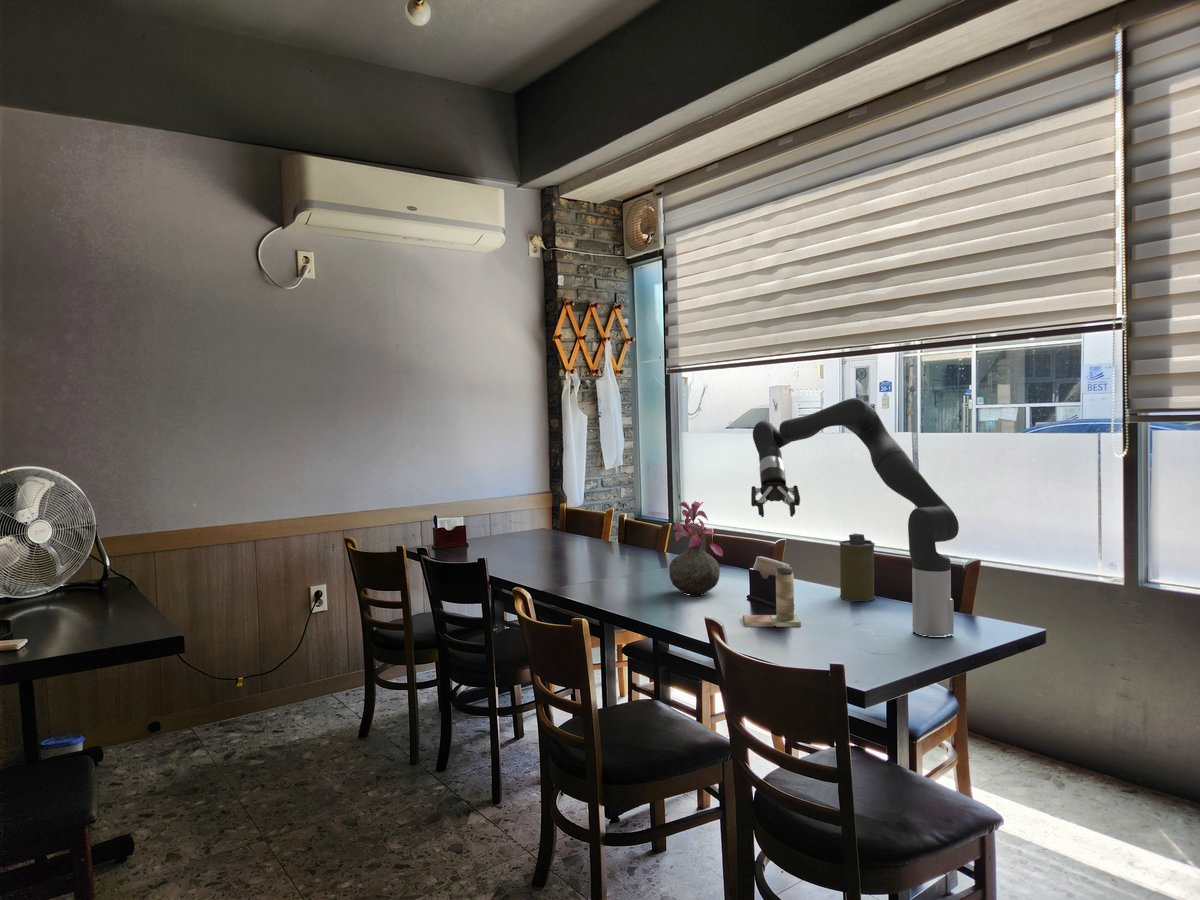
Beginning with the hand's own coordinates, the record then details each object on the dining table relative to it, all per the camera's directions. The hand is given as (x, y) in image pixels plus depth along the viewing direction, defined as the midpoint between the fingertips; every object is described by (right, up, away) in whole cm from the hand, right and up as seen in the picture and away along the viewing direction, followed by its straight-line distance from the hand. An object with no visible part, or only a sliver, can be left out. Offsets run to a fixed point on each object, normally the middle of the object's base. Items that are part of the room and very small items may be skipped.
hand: (777, 515), depth 233 cm
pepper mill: (-1, -28, -13) cm, 31 cm away
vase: (-21, -28, +24) cm, 42 cm away
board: (-5, -29, -13) cm, 32 cm away
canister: (+28, -27, +14) cm, 42 cm away
